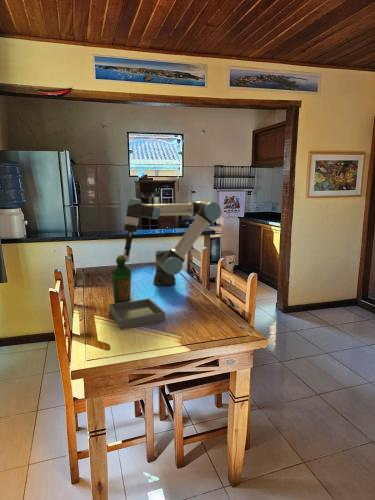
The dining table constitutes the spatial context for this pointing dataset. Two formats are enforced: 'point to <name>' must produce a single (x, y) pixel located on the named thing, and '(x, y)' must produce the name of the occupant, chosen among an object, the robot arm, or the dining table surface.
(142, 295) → the dining table surface
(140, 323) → the tray
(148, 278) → the dining table surface
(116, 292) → the bottle
